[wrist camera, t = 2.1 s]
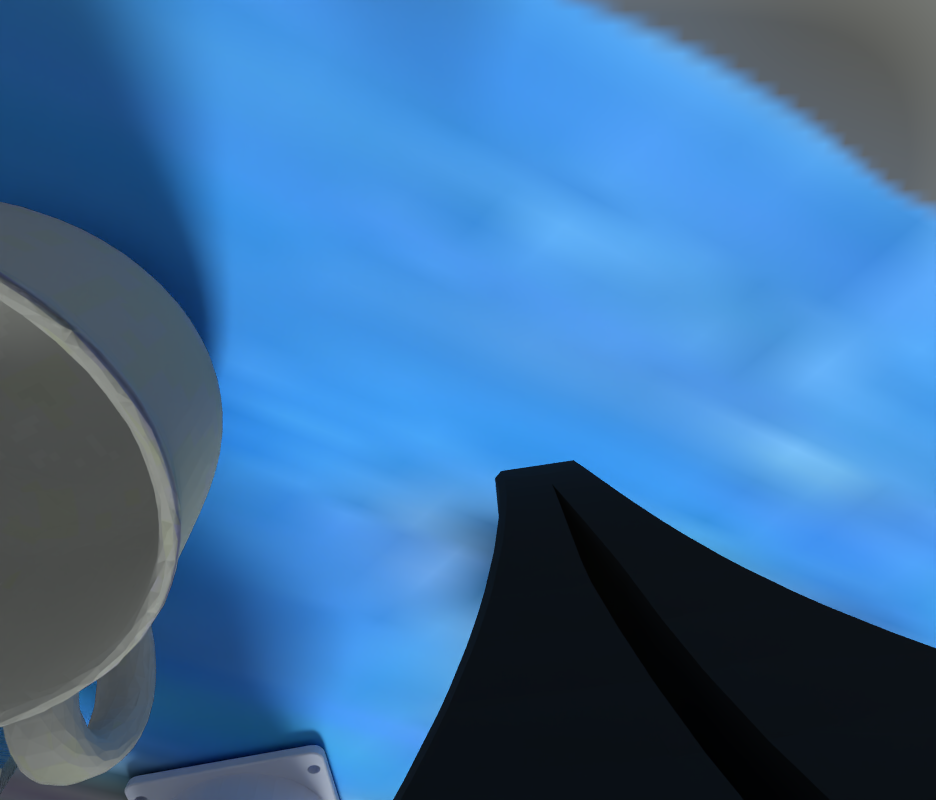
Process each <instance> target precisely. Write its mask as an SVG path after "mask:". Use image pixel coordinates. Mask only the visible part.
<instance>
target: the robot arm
mask: <svg viewBox="0 0 936 800" xmlns="http://www.w3.org/2000/svg"><path fill="white" fill-rule="evenodd" d="M495 482H496V492H497V503H498V513H499V520H498V528H497V535H496V542H495V549H494V554H493V558H492V563H491V567H490V571H489V575H488V580H487V584H486V588H485V592H484V595H483V599H482V602H481V605H480V609H479V612H478V615H477V618H476V621H475V624H474V627H473V630H472V633H471V636H470V638H469V641H468V644H467V647H466V649H465V652H464V654H463V657H462V659H461V662H460V664H459V667H458V669H457V671H456V674H455V676H454V679H453V681H452V684H451V686H450V688H449V691H448V693H447V695H446V697H445V700H444V702H443V704H442V706H441V708H440V711H439V713H438V715H437V717H436V719H435V721H434V723H433V725H432V727H431V729H430V730H429V732H428V734H427V736H426V738H425V740H424V742H423V744H422V746H421V748H420V750H419V752H418V754H417V756H416V758H415V760H414V762H413V764H412V766H411V768H410V770H409V772H408V773H407V775H406V777H405V779H404V781H403V783H402V785H401V787H400V788H399V790H398V792H397V794H396V796H395V797H394V799H393V800H936V648H934V647H931V646H928V645H925V644H923V643H920V642H917V641H914V640H911V639H909V638H906V637H903V636H900V635H898V634H895V633H892V632H890V631H887V630H885V629H882V628H880V627H877V626H875V625H872V624H870V623H867V622H865V621H862V620H860V619H857V618H855V617H852V616H850V615H847V614H845V613H842V612H840V611H837V610H835V609H832V608H830V607H828V606H825V605H823V604H821V603H818V602H816V601H814V600H811V599H809V598H807V597H805V596H802V595H800V594H798V593H796V592H793V591H791V590H789V589H787V588H785V587H783V586H781V585H779V584H777V583H775V582H773V581H771V580H769V579H766V578H764V577H762V576H760V575H758V574H756V573H754V572H752V571H750V570H748V569H746V568H744V567H742V566H740V565H738V564H736V563H734V562H732V561H730V560H728V559H727V558H725V557H723V556H721V555H719V554H717V553H716V552H714V551H712V550H710V549H709V548H707V547H705V546H703V545H702V544H700V543H698V542H697V541H695V540H693V539H691V538H690V537H688V536H686V535H684V534H683V533H681V532H679V531H678V530H676V529H674V528H673V527H671V526H670V525H668V524H666V523H665V522H663V521H662V520H660V519H658V518H657V517H655V516H654V515H652V514H651V513H649V512H648V511H646V510H645V509H643V508H642V507H640V506H639V505H637V504H636V503H634V502H633V501H631V500H630V499H628V498H627V497H625V496H624V495H622V494H621V493H620V492H618V491H617V490H615V489H614V488H612V487H611V486H610V485H608V484H607V483H605V482H604V481H602V480H601V479H600V478H598V477H597V476H595V475H594V474H593V473H591V472H590V471H588V470H587V469H586V468H584V467H583V466H581V465H580V464H578V463H577V462H575V461H574V460H573V461H566V462H559V463H552V464H546V465H539V466H532V467H526V468H519V469H512V470H506V471H501V472H500V473H499V474H498V475H497V477H496V478H495ZM125 795H126V796H127V798H128V800H339V797H338V794H337V790H336V787H335V784H334V781H333V777H332V774H331V771H330V768H329V764H328V761H327V758H326V755H325V751H324V750H323V748H321V747H320V746H317V745H308V746H303V747H297V748H292V749H286V750H280V751H275V752H269V753H263V754H258V755H252V756H246V757H241V758H235V759H229V760H224V761H218V762H213V763H207V764H201V765H196V766H190V767H184V768H179V769H173V770H167V771H162V772H156V773H150V774H145V775H139V776H135V777H133V778H131V779H130V780H129V781H128V784H127V786H126V788H125Z"/></svg>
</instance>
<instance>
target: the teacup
mask: <svg viewBox="0 0 936 800" xmlns="http://www.w3.org/2000/svg"><path fill="white" fill-rule="evenodd" d="M222 414H223V412H222V403H221V395H220V390H219V385H218V380H217V376H216V373H215V370H214V367H213V364H212V362H211V359H210V356H209V353H208V351H207V349H206V347H205V345H204V343H203V341H202V339H201V337H200V335H199V334H198V332H197V330H196V329H195V327H194V325H193V324H192V322H191V320H190V319H189V318H188V316H187V315H186V314H185V312H184V311H183V309H182V308H181V307H180V305H179V304H178V303H177V302H176V301H175V300H174V298H173V297H172V296H171V295H170V294H169V293H168V292H167V291H166V290H165V289H164V288H163V286H162V285H161V284H160V283H159V282H157V281H156V280H155V279H154V278H153V277H152V276H151V275H150V274H148V273H147V272H146V271H145V270H144V269H143V268H142V267H140V266H139V265H138V264H137V263H135V262H134V261H133V260H131V259H130V258H129V257H127V256H126V255H125V254H123V253H122V252H120V251H119V250H117V249H115V248H114V247H112V246H111V245H109V244H108V243H106V242H104V241H103V240H101V239H99V238H97V237H95V236H94V235H92V234H90V233H88V232H86V231H84V230H82V229H80V228H78V227H76V226H73V225H71V224H69V223H66V222H64V221H62V220H59V219H57V218H54V217H51V216H48V215H45V214H42V213H39V212H36V211H33V210H30V209H27V208H24V207H21V206H16V205H12V204H7V203H3V202H0V727H3V730H4V736H5V740H6V743H7V746H8V749H9V752H10V754H11V756H12V757H13V759H14V761H15V762H16V764H17V766H18V767H19V769H20V771H21V772H22V773H23V774H25V775H26V776H27V777H28V778H29V779H31V780H33V781H35V782H37V783H39V784H47V785H56V786H66V785H70V784H74V783H79V782H81V781H84V780H86V779H89V778H92V777H94V776H97V775H100V774H102V773H105V772H106V771H108V770H109V769H110V768H112V767H113V766H114V765H116V764H117V763H118V762H120V761H121V760H122V759H123V758H124V757H125V756H126V755H127V754H128V753H129V752H130V751H131V750H132V749H133V747H134V746H135V744H136V743H137V741H138V740H139V738H140V737H141V734H142V732H143V730H144V728H145V726H146V724H147V722H148V719H149V715H150V711H151V708H152V704H153V700H154V692H155V684H156V657H155V643H154V638H153V632H152V627H151V625H152V623H153V621H154V620H155V618H156V617H157V615H158V613H159V612H160V610H161V609H162V607H163V606H164V604H165V601H166V599H167V596H168V593H169V591H170V588H171V585H172V582H173V579H174V575H175V572H176V569H177V563H178V558H179V556H180V554H181V552H182V550H183V548H184V546H185V544H186V542H187V540H188V537H189V535H190V533H191V531H192V529H193V527H194V525H195V522H196V520H197V518H198V516H199V514H200V511H201V509H202V506H203V504H204V501H205V499H206V497H207V494H208V492H209V489H210V486H211V483H212V480H213V477H214V474H215V471H216V467H217V463H218V459H219V454H220V447H221V439H222ZM96 680H97V689H96V697H95V705H94V710H93V713H92V716H91V719H90V722H89V724H88V727H87V725H86V723H85V720H84V718H83V716H82V713H81V711H80V708H79V691H81V690H82V689H84V688H85V687H87V686H88V685H90V684H91V683H93V682H94V681H96Z"/></svg>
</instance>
